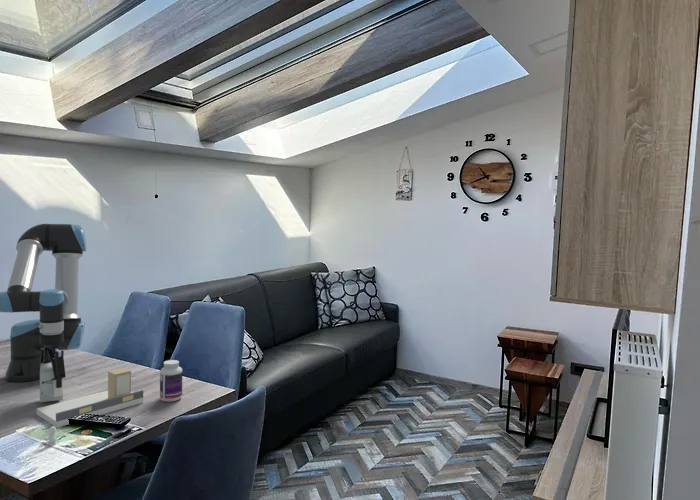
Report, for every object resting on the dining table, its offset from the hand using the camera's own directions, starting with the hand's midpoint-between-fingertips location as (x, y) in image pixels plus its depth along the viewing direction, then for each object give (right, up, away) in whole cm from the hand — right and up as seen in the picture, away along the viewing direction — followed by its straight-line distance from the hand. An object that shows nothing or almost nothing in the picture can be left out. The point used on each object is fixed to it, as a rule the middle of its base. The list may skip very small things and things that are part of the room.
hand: (51, 392), depth 183 cm
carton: (+24, -2, +1) cm, 24 cm away
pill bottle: (+41, -5, +8) cm, 42 cm away
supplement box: (0, -2, 0) cm, 2 cm away
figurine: (+19, -7, -32) cm, 38 cm away
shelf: (+17, -4, -4) cm, 18 cm away
